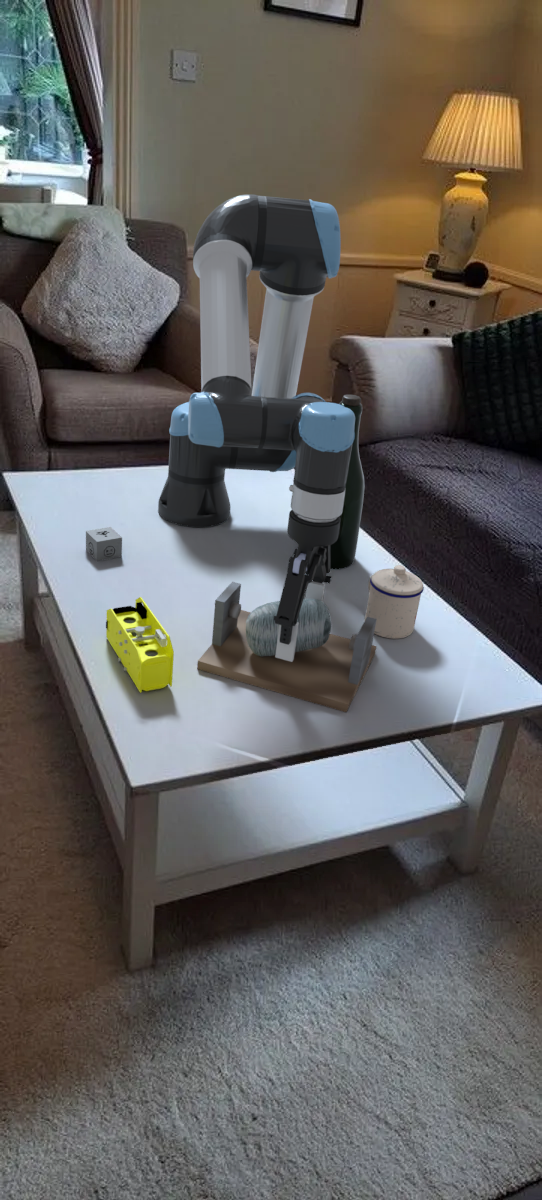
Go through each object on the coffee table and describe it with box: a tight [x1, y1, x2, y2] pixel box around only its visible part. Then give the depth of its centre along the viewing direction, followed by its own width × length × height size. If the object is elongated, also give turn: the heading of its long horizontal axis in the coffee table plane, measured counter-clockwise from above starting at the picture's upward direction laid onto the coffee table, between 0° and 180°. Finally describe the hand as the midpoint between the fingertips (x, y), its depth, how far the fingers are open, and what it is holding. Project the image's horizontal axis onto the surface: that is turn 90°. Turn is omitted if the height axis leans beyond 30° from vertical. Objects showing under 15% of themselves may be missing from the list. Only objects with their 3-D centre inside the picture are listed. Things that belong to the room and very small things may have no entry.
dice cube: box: [85, 526, 123, 562], centre depth 161 cm, size 5×5×5 cm
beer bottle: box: [330, 394, 365, 570], centre depth 163 cm, size 10×10×33 cm
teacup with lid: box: [364, 564, 425, 640], centre depth 148 cm, size 12×9×12 cm
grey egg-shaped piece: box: [246, 598, 332, 657], centre depth 134 cm, size 14×10×10 cm
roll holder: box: [196, 581, 377, 713], centre depth 135 cm, size 18×24×10 cm
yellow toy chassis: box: [105, 596, 175, 693], centre depth 130 cm, size 16×6×8 cm, turn 27°
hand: (298, 637), depth 134 cm, fingers open, 13 cm apart
